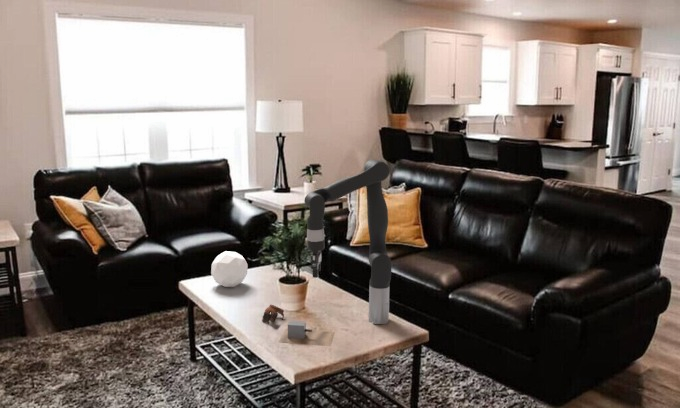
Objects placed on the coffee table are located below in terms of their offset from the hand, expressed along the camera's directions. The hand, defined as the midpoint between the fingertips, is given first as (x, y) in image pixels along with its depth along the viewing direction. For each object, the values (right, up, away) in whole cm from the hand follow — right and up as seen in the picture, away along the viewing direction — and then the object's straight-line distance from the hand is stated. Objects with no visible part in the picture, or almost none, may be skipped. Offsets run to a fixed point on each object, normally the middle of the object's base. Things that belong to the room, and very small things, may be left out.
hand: (316, 274), depth 253 cm
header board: (-4, -28, -6) cm, 29 cm away
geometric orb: (-50, -14, +60) cm, 79 cm away
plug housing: (-7, -26, -6) cm, 28 cm away
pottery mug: (-21, -24, +14) cm, 35 cm away
